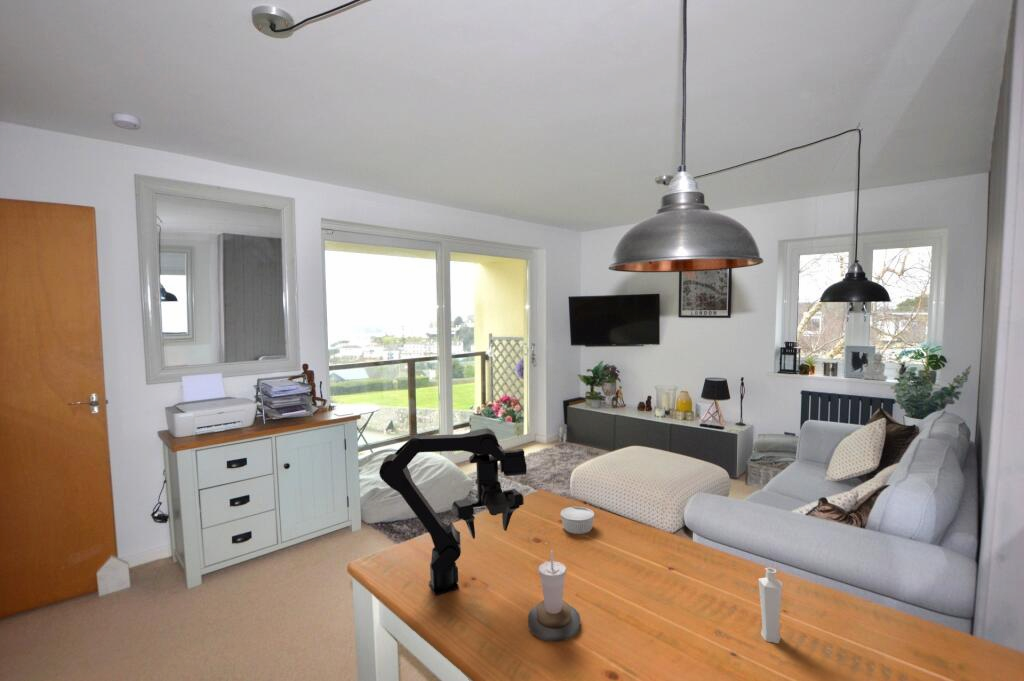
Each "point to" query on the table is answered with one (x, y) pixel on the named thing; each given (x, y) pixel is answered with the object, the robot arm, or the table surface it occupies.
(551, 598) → the white drink cup
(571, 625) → the pedestal
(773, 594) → the perfume bottle
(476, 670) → the table surface
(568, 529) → the ramekin
